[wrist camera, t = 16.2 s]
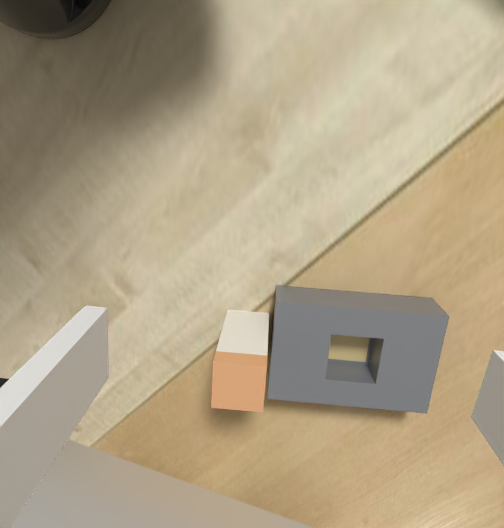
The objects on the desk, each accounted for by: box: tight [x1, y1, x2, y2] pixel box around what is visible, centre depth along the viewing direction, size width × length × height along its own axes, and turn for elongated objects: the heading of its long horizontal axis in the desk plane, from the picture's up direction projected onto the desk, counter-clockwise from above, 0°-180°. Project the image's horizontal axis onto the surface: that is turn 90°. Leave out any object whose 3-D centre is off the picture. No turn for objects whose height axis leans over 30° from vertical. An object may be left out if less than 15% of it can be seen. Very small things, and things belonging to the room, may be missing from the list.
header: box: [267, 285, 449, 413], centre depth 48 cm, size 18×12×5 cm, turn 86°
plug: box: [211, 310, 269, 412], centre depth 45 cm, size 5×5×12 cm
